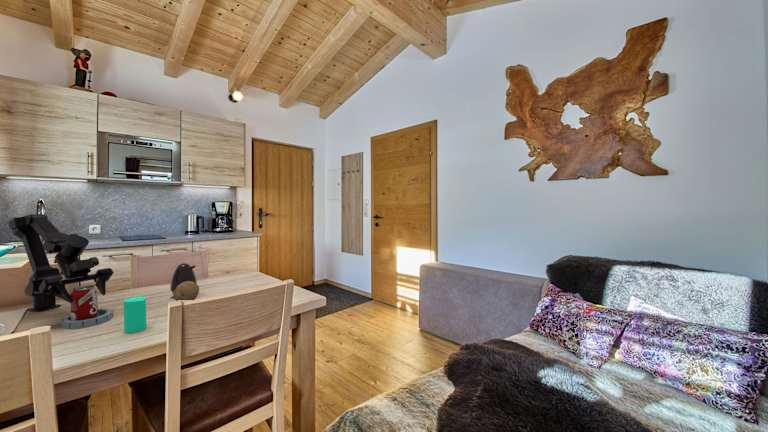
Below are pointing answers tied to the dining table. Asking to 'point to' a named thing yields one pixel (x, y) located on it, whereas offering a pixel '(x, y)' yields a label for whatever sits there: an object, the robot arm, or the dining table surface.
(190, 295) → the natural sponge
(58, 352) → the dining table surface
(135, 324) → the candle
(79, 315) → the soda can
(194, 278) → the dark rounded figure
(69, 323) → the dish
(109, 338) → the dining table surface
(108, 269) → the robot arm
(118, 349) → the dining table surface
